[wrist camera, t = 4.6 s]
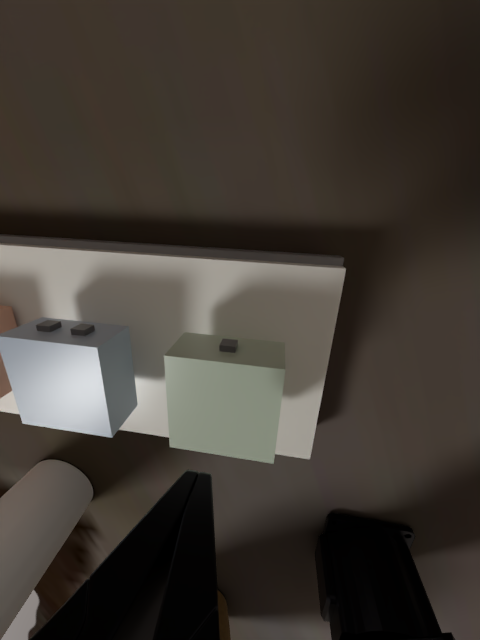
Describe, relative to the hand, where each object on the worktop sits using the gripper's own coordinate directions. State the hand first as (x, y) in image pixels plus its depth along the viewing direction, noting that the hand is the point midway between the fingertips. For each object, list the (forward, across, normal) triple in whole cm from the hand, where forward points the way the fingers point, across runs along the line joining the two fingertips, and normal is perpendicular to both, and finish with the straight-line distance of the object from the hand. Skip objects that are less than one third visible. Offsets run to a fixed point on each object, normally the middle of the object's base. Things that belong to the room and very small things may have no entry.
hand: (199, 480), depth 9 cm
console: (+10, +8, 0) cm, 12 cm away
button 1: (+6, 0, 0) cm, 6 cm away
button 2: (+6, +8, 0) cm, 10 cm away
